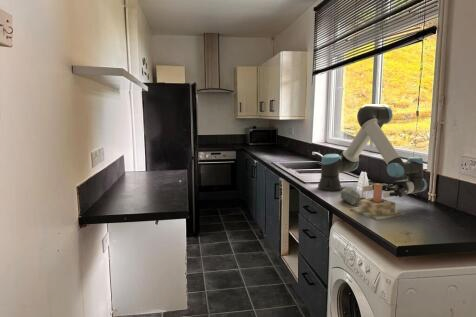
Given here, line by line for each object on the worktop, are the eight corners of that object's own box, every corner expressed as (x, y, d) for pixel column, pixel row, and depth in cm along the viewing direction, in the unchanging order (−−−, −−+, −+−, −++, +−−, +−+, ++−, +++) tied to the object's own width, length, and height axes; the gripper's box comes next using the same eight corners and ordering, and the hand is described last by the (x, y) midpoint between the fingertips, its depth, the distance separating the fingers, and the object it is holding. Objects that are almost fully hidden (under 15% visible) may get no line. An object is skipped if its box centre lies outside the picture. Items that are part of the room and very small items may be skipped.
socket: (350, 210, 171) (351, 199, 170) (375, 205, 179) (376, 195, 178) (377, 220, 155) (378, 208, 154) (403, 215, 162) (404, 203, 161)
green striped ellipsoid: (334, 194, 192) (344, 180, 188) (348, 200, 194) (357, 187, 190) (341, 205, 179) (352, 191, 176) (355, 212, 181) (366, 198, 178)
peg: (370, 210, 168) (372, 183, 166) (376, 209, 169) (377, 183, 167) (377, 212, 164) (378, 185, 162) (382, 211, 166) (384, 184, 164)
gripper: (423, 199, 162) (393, 205, 153) (383, 189, 184) (354, 193, 176) (424, 185, 161) (394, 189, 152) (383, 176, 183) (355, 180, 175)
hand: (373, 191), depth 164 cm, fingers open, 13 cm apart
